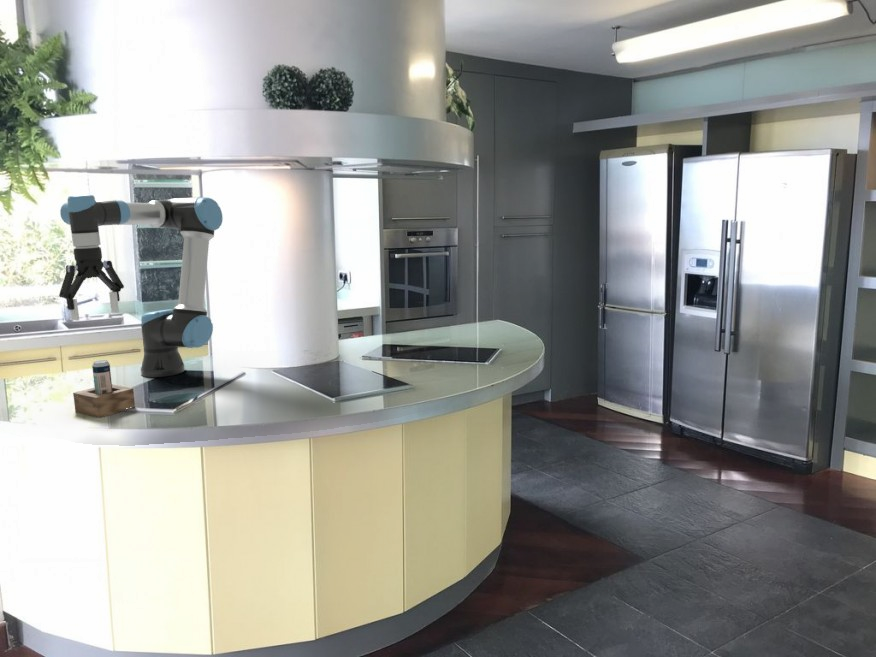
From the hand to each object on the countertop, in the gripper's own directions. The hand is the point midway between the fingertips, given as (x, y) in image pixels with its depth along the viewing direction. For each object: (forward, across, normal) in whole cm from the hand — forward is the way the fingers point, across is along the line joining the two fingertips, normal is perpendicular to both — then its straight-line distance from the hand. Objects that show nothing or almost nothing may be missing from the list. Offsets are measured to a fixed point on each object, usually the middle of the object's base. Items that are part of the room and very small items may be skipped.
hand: (96, 316), depth 221 cm
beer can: (+25, +5, +6) cm, 26 cm away
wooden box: (+28, +5, +6) cm, 29 cm away
